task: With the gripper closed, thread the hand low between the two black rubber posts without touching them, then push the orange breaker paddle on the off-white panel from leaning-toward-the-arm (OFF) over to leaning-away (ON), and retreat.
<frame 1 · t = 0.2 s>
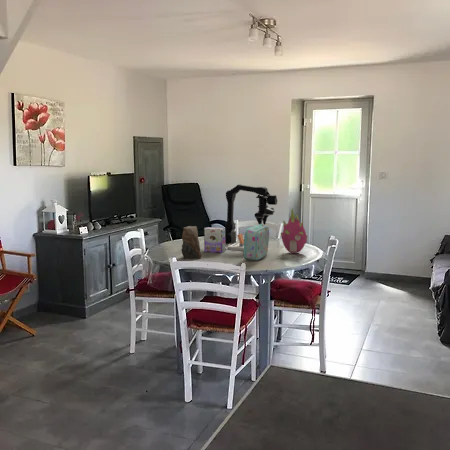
hand: (262, 225, 361), 14 cm above the table, fingers open, 9 cm apart
far post: (234, 244, 364), on the table
lunch box: (256, 258, 318), on the table
breaker paddle: (241, 239, 350), point 6 cm above the table, hinge at -20.0°
pink dragon fruit: (293, 253, 333), on the table
near post: (222, 250, 344), on the table
candy box: (214, 251, 339), on the table
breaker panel: (241, 248, 351), on the table
owl: (192, 257, 320), on the table
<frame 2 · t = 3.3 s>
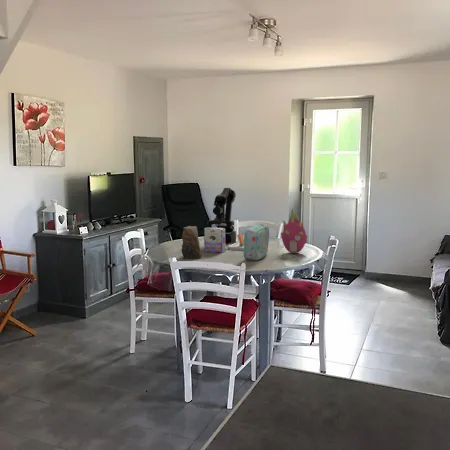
hand: (220, 234, 355), 9 cm above the table, fingers closed
nothing on the table moved.
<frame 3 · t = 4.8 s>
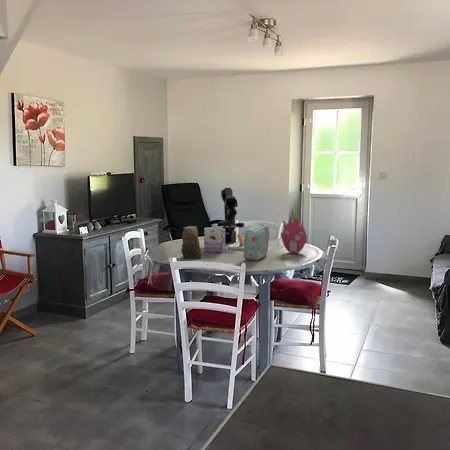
hand: (230, 236, 353), 8 cm above the table, fingers closed
nothing on the table moved.
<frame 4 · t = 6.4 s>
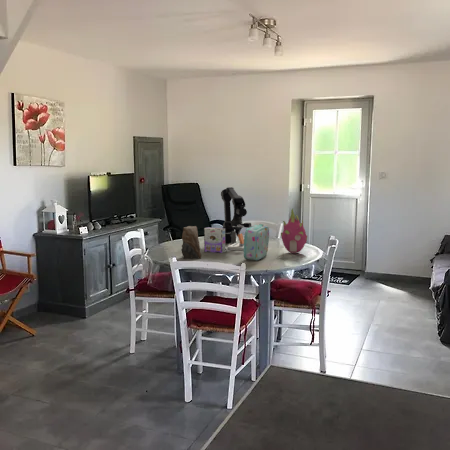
hand: (237, 236, 351), 8 cm above the table, fingers closed
breaker paddle: (241, 239, 350), point 6 cm above the table, hinge at -18.7°, touching gripper
everything else where it was.
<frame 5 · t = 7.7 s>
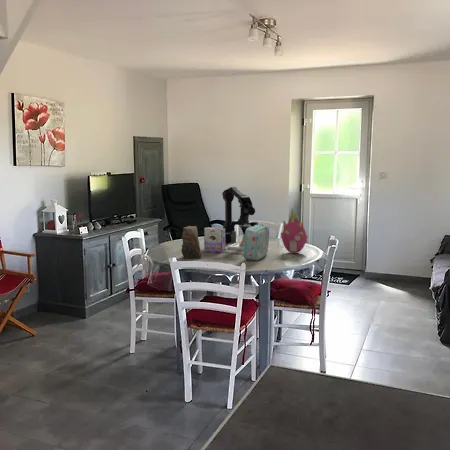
hand: (244, 235, 349), 9 cm above the table, fingers closed, pressing on breaker paddle
breaker paddle: (244, 239, 349), point 6 cm above the table, hinge at 17.8°, touching gripper
everything else where it was.
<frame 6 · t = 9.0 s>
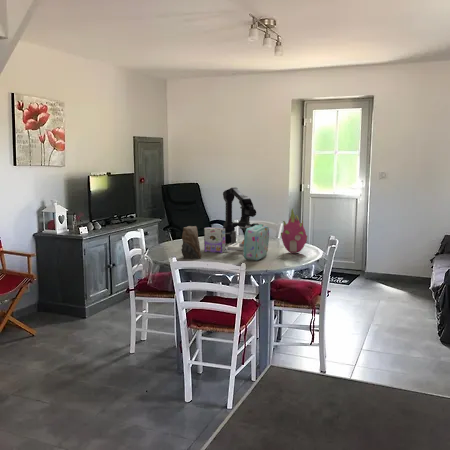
hand: (245, 237, 348), 8 cm above the table, fingers closed
breaker paddle: (245, 240, 349), point 6 cm above the table, hinge at 32.4°
everything else where it was.
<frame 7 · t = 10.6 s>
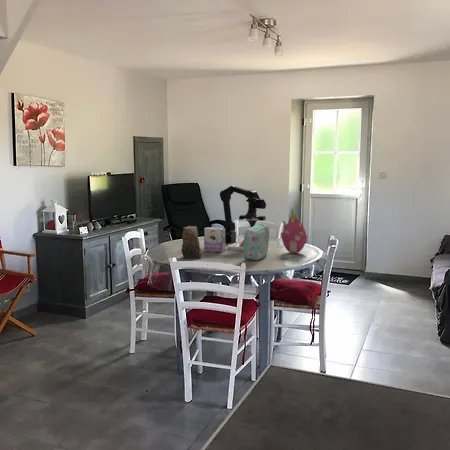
hand: (252, 229, 357), 12 cm above the table, fingers closed
breaker paddle: (245, 240, 349), point 6 cm above the table, hinge at 33.0°
everything else where it was.
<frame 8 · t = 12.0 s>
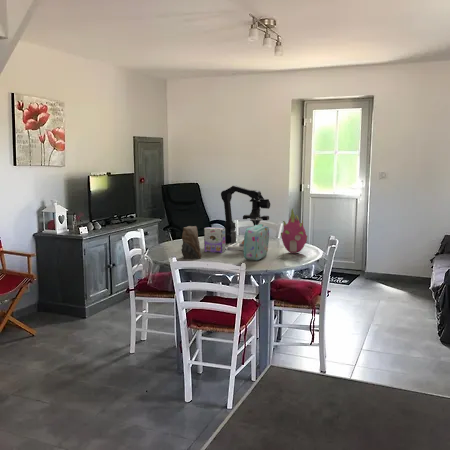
hand: (255, 229, 360), 12 cm above the table, fingers closed
nothing on the table moved.
at the end: breaker paddle at +33° (first picture: -20°); candy box moved 0.3 cm from its start; the gripper is holding nothing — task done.
